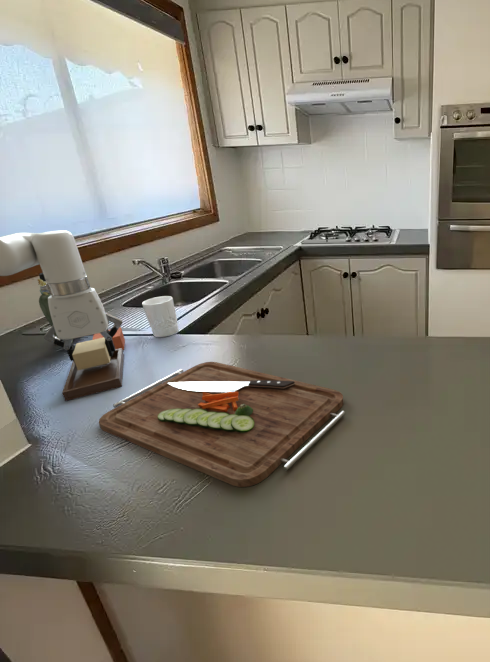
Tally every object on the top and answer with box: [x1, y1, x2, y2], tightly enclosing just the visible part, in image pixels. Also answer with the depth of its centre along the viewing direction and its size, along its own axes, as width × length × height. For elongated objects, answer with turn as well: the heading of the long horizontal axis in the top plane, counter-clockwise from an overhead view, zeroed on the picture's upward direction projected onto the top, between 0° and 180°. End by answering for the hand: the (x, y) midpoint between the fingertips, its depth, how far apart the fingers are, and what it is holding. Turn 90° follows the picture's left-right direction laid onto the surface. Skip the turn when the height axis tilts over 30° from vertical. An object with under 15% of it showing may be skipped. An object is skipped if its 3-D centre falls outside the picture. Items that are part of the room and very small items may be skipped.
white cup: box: [141, 295, 180, 338], centre depth 121 cm, size 8×8×10 cm
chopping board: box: [98, 361, 346, 488], centre depth 80 cm, size 45×27×3 cm, turn 61°
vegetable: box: [37, 278, 74, 344], centre depth 113 cm, size 4×4×20 cm
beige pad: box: [72, 338, 111, 370], centre depth 101 cm, size 6×8×4 cm
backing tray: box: [61, 348, 125, 402], centre depth 99 cm, size 11×20×2 cm, turn 28°
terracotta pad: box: [91, 326, 126, 351], centre depth 114 cm, size 6×8×4 cm
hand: (94, 357), depth 102 cm, fingers closed on beige pad, 6 cm apart
